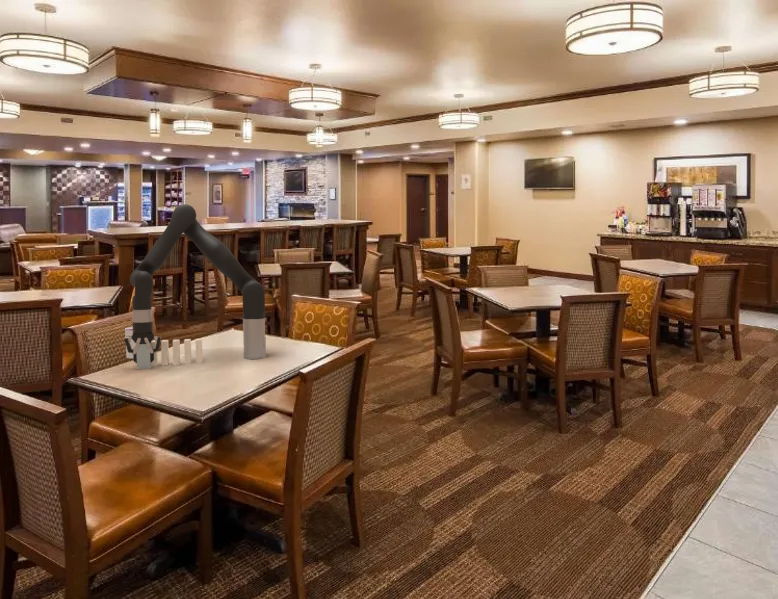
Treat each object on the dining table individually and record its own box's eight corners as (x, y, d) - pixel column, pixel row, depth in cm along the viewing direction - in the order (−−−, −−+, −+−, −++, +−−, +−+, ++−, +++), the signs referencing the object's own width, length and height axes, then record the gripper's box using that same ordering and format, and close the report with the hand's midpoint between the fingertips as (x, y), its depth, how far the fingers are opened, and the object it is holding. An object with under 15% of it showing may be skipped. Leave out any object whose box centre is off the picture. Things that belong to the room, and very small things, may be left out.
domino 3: (169, 363, 250) (168, 339, 250) (168, 365, 246) (167, 341, 245) (162, 363, 250) (162, 340, 249) (161, 365, 245) (161, 341, 244)
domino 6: (202, 361, 254) (201, 338, 253) (202, 363, 249) (201, 340, 249) (196, 361, 253) (195, 338, 253) (196, 364, 249) (195, 340, 248)
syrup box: (138, 360, 257) (136, 327, 255) (125, 360, 258) (124, 327, 257) (146, 358, 262) (144, 326, 261) (134, 358, 263) (132, 325, 262)
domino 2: (157, 363, 249) (156, 340, 248) (156, 366, 244) (155, 341, 244) (151, 364, 249) (150, 340, 248) (150, 366, 244) (149, 342, 243)
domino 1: (137, 368, 240) (137, 343, 239) (151, 367, 241) (150, 343, 240) (137, 369, 238) (136, 344, 237) (150, 368, 239) (149, 343, 238)
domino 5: (191, 362, 253) (190, 338, 252) (190, 364, 248) (190, 340, 247) (185, 362, 252) (184, 339, 251) (184, 364, 247) (184, 340, 247)
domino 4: (180, 362, 252) (179, 339, 251) (179, 364, 247) (178, 341, 246) (174, 363, 251) (173, 339, 250) (173, 365, 246) (172, 341, 245)
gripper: (162, 319, 244) (163, 360, 245) (124, 320, 240) (126, 361, 241) (160, 321, 236) (161, 363, 238) (121, 322, 232) (123, 365, 234)
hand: (143, 362), depth 239 cm, fingers closed on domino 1, 5 cm apart
